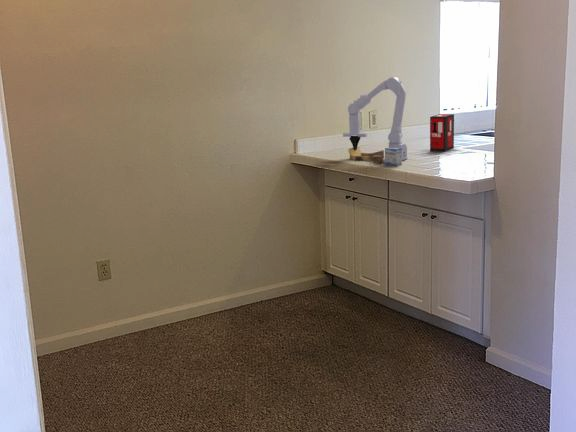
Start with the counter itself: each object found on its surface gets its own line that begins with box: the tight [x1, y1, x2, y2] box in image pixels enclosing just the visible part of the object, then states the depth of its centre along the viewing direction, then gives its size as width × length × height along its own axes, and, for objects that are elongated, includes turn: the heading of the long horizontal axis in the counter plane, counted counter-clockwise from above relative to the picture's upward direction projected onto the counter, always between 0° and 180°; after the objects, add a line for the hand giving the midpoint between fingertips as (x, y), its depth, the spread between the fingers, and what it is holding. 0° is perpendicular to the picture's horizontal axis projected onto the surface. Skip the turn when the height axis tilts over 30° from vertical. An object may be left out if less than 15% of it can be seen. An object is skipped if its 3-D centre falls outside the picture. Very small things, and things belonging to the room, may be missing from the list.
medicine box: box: [384, 147, 403, 167], centre depth 332 cm, size 8×4×9 cm, turn 45°
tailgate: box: [347, 146, 362, 156], centre depth 357 cm, size 1×10×6 cm, turn 140°
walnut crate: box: [372, 155, 384, 165], centre depth 340 cm, size 4×4×4 cm
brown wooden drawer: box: [349, 149, 385, 162], centre depth 352 cm, size 15×14×5 cm
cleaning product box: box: [429, 113, 455, 153], centre depth 377 cm, size 16×9×20 cm, turn 148°
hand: (355, 149), depth 356 cm, fingers closed, pressing on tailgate
